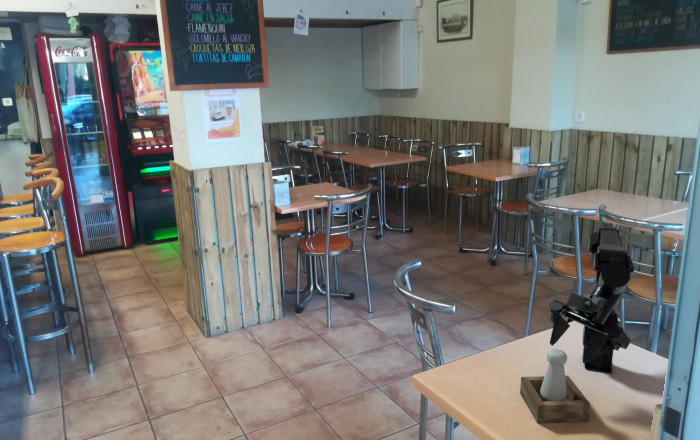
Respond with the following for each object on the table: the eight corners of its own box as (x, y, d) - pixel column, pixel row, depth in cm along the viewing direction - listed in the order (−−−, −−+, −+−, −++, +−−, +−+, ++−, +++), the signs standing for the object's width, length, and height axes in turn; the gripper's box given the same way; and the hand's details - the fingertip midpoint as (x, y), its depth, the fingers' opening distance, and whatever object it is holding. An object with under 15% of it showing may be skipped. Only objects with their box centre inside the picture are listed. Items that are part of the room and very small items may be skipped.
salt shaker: (568, 411, 117) (573, 359, 114) (541, 408, 118) (546, 357, 115) (563, 396, 123) (568, 346, 119) (537, 393, 124) (541, 344, 120)
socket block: (566, 391, 126) (568, 375, 125) (588, 421, 115) (590, 403, 114) (520, 393, 126) (521, 377, 125) (537, 423, 115) (538, 405, 114)
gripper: (555, 267, 125) (519, 320, 123) (628, 294, 109) (588, 355, 107) (575, 291, 130) (541, 342, 128) (646, 319, 115) (609, 378, 112)
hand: (567, 353), depth 119 cm, fingers open, 9 cm apart
